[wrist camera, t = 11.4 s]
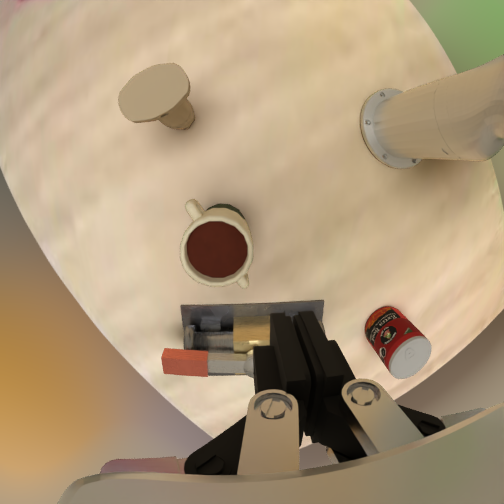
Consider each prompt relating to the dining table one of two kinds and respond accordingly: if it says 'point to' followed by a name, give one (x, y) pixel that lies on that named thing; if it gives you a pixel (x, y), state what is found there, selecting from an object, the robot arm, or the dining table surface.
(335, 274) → the dining table surface
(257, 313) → the valve
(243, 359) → the lever
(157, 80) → the handle
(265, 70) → the dining table surface
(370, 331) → the canned food
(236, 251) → the character mug
